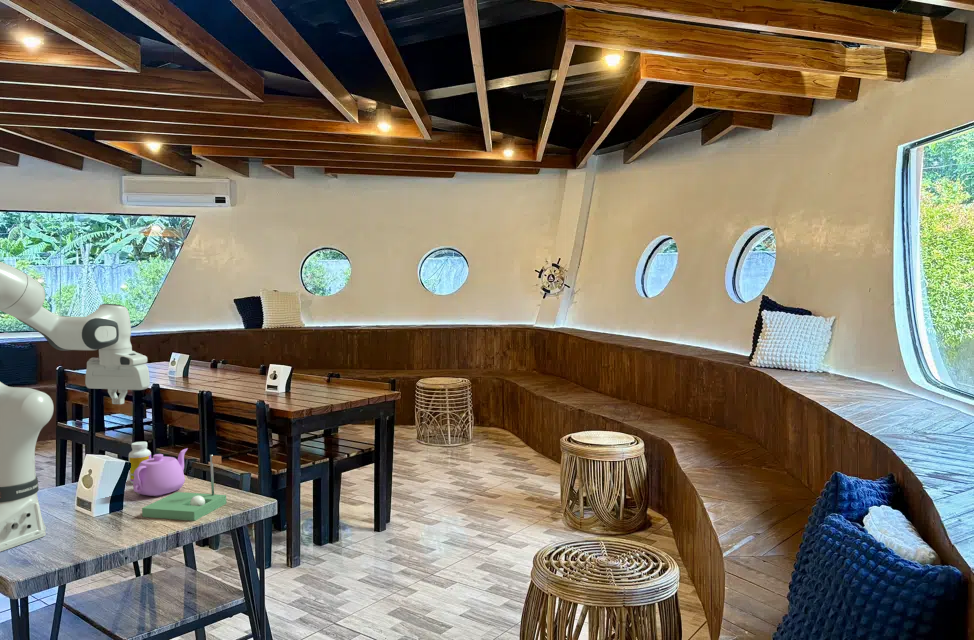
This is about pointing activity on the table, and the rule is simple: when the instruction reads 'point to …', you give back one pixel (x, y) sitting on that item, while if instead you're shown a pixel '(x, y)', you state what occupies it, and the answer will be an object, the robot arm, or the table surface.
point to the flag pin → (212, 460)
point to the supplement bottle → (138, 456)
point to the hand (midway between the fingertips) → (118, 403)
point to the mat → (183, 506)
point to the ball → (197, 501)
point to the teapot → (159, 475)
